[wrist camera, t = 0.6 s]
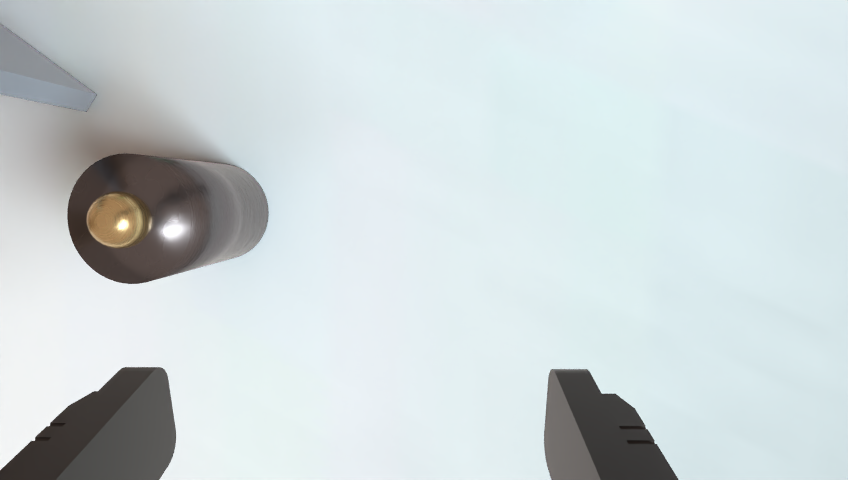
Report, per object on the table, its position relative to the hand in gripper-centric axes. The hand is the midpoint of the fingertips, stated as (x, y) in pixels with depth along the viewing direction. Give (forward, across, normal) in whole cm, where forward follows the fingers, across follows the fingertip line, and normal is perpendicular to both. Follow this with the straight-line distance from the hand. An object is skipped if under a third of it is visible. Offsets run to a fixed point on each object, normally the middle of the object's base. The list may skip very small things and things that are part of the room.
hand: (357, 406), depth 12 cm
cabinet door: (+25, +23, -9) cm, 35 cm away
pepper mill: (+22, +10, +1) cm, 24 cm away
